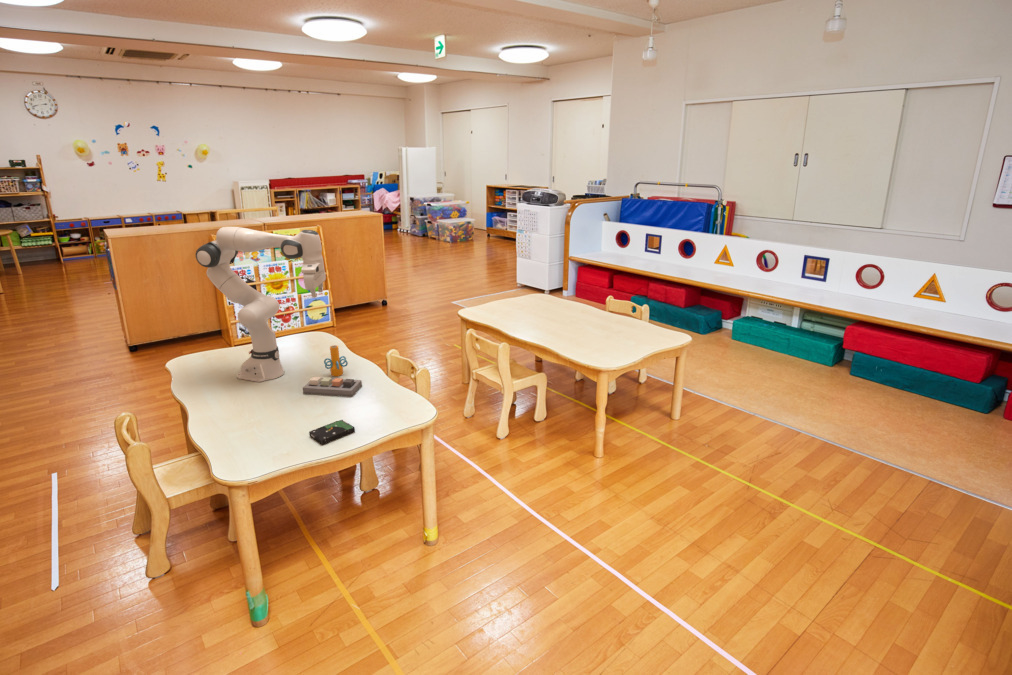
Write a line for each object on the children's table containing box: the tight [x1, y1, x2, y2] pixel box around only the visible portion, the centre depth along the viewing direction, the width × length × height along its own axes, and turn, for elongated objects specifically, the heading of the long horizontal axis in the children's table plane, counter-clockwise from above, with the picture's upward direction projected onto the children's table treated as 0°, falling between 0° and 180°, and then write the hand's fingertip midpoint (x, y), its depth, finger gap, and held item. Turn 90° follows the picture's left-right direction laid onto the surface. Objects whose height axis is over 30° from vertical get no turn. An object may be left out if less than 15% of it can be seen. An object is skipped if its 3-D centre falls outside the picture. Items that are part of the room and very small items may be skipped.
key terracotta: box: [332, 377, 344, 386], centre depth 262 cm, size 4×4×2 cm
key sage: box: [321, 377, 332, 386], centre depth 263 cm, size 4×4×2 cm
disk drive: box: [308, 419, 356, 446], centre depth 224 cm, size 10×3×15 cm
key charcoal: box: [343, 378, 355, 387], centre depth 261 cm, size 4×4×2 cm
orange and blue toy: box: [323, 345, 349, 378], centre depth 279 cm, size 12×10×15 cm
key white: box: [309, 376, 322, 385], centre depth 263 cm, size 4×4×2 cm
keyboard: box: [302, 377, 363, 398], centre depth 263 cm, size 24×12×3 cm, turn 82°
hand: (317, 294), depth 260 cm, fingers open, 8 cm apart
